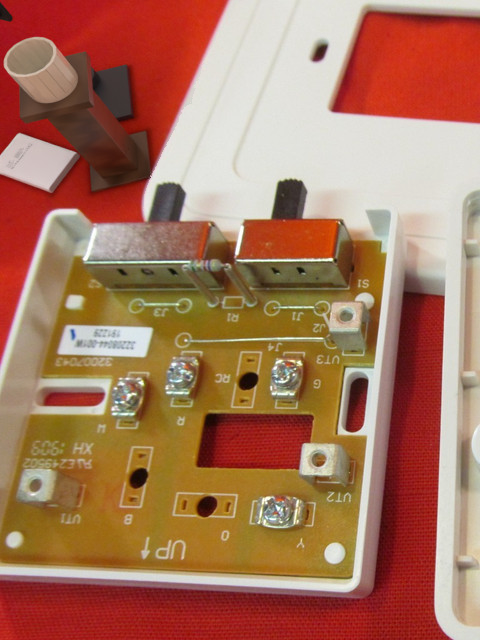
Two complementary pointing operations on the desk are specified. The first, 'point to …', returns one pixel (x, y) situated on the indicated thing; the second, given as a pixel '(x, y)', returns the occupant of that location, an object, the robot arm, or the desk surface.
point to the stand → (93, 131)
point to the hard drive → (36, 162)
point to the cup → (41, 70)
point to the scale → (114, 90)
